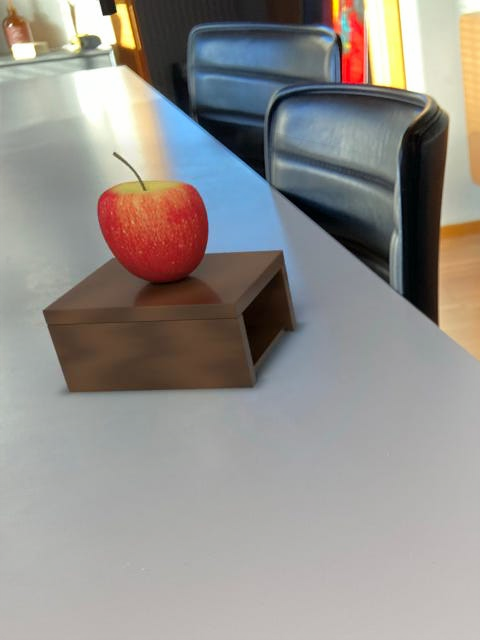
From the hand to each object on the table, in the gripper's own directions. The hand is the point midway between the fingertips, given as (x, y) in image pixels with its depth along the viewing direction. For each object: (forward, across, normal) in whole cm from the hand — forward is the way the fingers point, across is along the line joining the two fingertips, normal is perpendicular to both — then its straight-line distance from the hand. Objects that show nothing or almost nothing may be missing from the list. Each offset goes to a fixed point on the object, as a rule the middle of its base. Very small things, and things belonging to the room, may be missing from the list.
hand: (32, 21), depth 90 cm
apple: (+20, -2, +20) cm, 28 cm away
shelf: (+27, -2, +19) cm, 33 cm away
